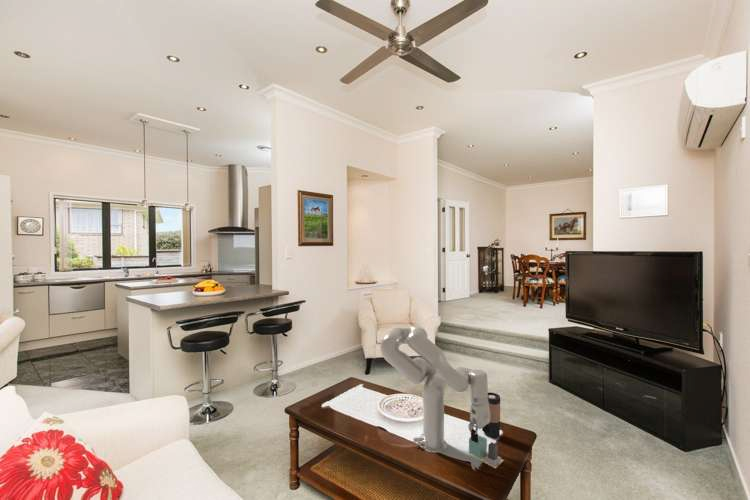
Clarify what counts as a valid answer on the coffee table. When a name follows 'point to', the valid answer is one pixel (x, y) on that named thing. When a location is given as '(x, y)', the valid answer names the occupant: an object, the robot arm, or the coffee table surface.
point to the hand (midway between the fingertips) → (480, 436)
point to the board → (486, 461)
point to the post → (493, 454)
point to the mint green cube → (478, 447)
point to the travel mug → (494, 415)
